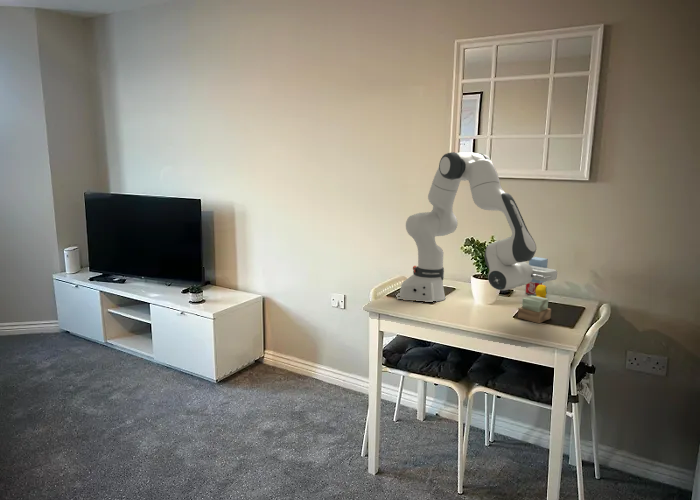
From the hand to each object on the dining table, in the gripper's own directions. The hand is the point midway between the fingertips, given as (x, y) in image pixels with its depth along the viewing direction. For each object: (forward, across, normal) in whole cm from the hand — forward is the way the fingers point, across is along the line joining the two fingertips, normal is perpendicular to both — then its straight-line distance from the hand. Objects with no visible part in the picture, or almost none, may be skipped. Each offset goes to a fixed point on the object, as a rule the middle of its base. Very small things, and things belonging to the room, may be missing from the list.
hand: (538, 268), depth 195 cm
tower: (-1, 0, +20) cm, 20 cm away
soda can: (+32, +18, +20) cm, 42 cm away
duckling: (+13, +5, +20) cm, 25 cm away
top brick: (-1, 0, +5) cm, 5 cm away
